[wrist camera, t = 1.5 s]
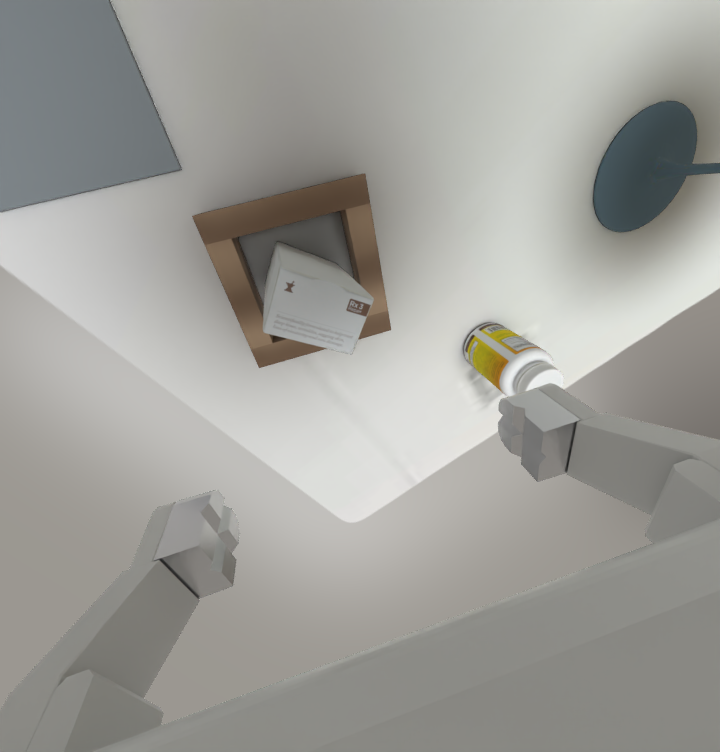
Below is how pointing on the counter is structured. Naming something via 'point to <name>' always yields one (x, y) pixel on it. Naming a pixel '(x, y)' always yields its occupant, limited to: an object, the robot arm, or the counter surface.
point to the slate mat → (72, 104)
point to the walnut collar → (281, 210)
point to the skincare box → (313, 301)
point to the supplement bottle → (510, 360)
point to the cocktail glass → (647, 166)
